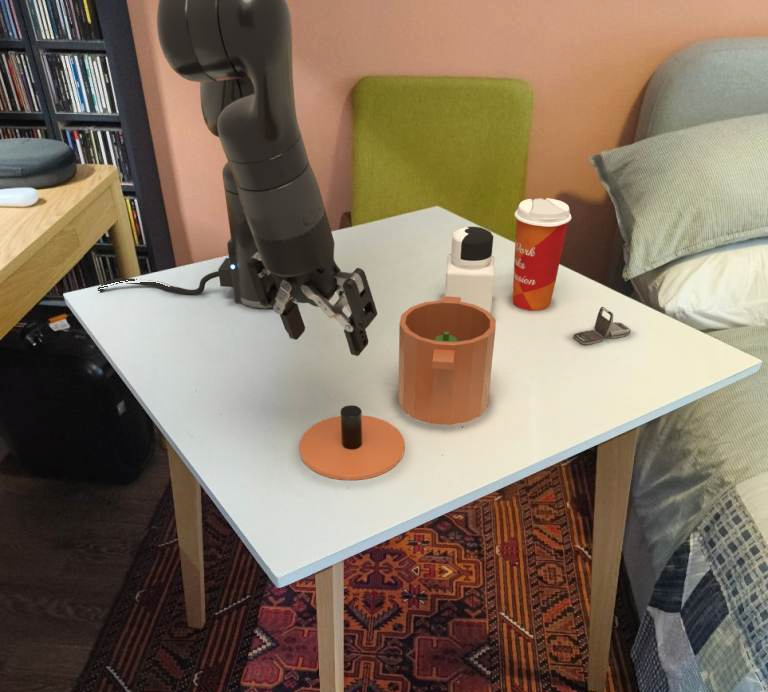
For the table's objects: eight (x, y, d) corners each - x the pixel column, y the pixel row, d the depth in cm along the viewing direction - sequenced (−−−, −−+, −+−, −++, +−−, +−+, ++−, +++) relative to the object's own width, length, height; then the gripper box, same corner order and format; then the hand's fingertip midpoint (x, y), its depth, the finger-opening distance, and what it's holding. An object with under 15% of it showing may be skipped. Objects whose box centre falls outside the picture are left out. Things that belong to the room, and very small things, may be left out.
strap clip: (619, 326, 116) (624, 299, 113) (631, 335, 113) (637, 308, 111) (571, 337, 113) (576, 310, 110) (583, 346, 111) (588, 319, 108)
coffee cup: (500, 292, 125) (510, 197, 115) (550, 290, 125) (564, 195, 115) (511, 315, 118) (522, 217, 108) (564, 313, 119) (580, 215, 109)
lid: (289, 480, 87) (285, 438, 83) (311, 419, 97) (308, 379, 93) (398, 488, 86) (399, 446, 82) (409, 426, 95) (410, 385, 92)
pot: (391, 437, 94) (392, 352, 86) (405, 367, 106) (407, 288, 99) (485, 443, 93) (494, 359, 85) (488, 372, 105) (496, 293, 98)
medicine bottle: (490, 298, 123) (497, 223, 115) (490, 319, 117) (498, 241, 110) (445, 296, 123) (449, 221, 116) (443, 316, 118) (447, 239, 110)
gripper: (367, 201, 72) (398, 334, 85) (252, 183, 79) (296, 309, 91) (324, 248, 69) (363, 379, 82) (207, 225, 76) (260, 350, 88)
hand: (328, 342), depth 87 cm, fingers open, 8 cm apart
